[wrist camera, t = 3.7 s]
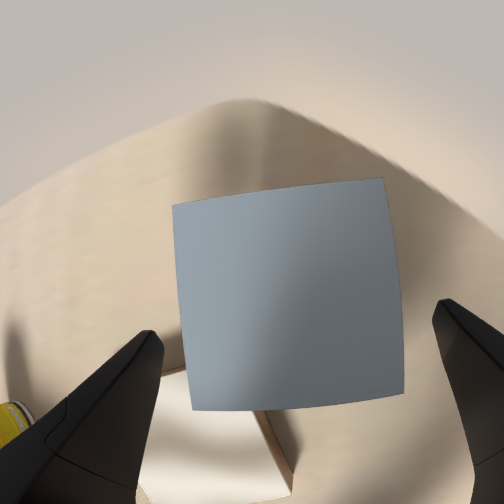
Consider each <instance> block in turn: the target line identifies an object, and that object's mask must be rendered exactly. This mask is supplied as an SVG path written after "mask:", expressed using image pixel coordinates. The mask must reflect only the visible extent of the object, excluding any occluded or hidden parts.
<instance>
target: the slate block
mask: <svg viewBox="0 0 504 504" xmlns="http://www.w3.org/2000/svg"><path fill="white" fill-rule="evenodd" d="M172 209H173V231H174V248H175V263H176V276H177V288H178V300H179V310H180V320H181V329H182V338H183V347H184V355H185V363H186V370H187V378H188V385H189V392H190V398H191V405H192V411H266V410H285V409H299V408H310V407H320V406H329V405H338V404H345V403H353V402H359V401H366V400H372V399H378V398H383V397H389V396H394V395H399V394H404V340H403V321H402V307H401V295H400V284H399V275H398V266H397V258H396V251H395V243H394V237H393V230H392V224H391V218H390V212H389V207H388V201H387V196H386V191H385V186H384V181H383V178H371V179H360V180H350V181H340V182H330V183H321V184H312V185H304V186H295V187H287V188H280V189H272V190H265V191H257V192H250V193H243V194H237V195H230V196H223V197H217V198H211V199H205V200H199V201H193V202H187V203H181V204H175V205H172Z"/></svg>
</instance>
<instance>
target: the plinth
mask: <svg viewBox="0 0 504 504" xmlns="http://www.w3.org/2000/svg"><path fill="white" fill-rule="evenodd" d="M138 482H139V483H140V485H141V487H142V488H143V490H144V492H145V493H146V495H147V496H148V498H149V499H150V501H151V503H152V504H250V503H256V502H261V501H267V500H272V499H276V498H281V497H286V496H290V495H291V493H292V484H293V473H292V471H291V469H290V467H289V464H288V462H287V460H286V458H285V456H284V454H283V452H282V449H281V447H280V445H279V443H278V441H277V438H276V436H275V434H274V432H273V429H272V427H271V425H270V423H269V420H268V418H267V416H266V413H265V411H192V405H191V398H190V392H189V385H188V378H187V370H186V365H185V366H181V367H178V368H175V369H172V370H168V371H165V372H162V373H161V381H160V387H159V392H158V396H157V400H156V404H155V408H154V412H153V417H152V421H151V425H150V429H149V434H148V438H147V443H146V447H145V452H144V456H143V461H142V465H141V470H140V475H139V480H138Z"/></svg>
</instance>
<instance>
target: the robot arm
mask: <svg viewBox="0 0 504 504" xmlns="http://www.w3.org/2000/svg"><path fill="white" fill-rule="evenodd" d="M432 323H433V328H434V331H435V335H436V339H437V342H438V346H439V350H440V354H441V358H442V362H443V365H444V368H445V371H446V373H447V376H448V379H449V382H450V385H451V388H452V391H453V394H454V397H455V400H456V403H457V407H458V410H459V413H460V416H461V420H462V423H463V427H464V430H465V434H466V438H467V442H468V446H469V450H470V454H471V458H472V462H473V466H474V472H475V482H474V488H473V493H472V498H471V502H470V504H504V335H503V334H502V333H501V332H499V331H498V330H496V329H495V328H493V327H492V326H491V325H489V324H488V323H486V322H485V321H483V320H482V319H480V318H479V317H477V316H476V315H474V314H473V313H472V312H470V311H469V310H467V309H466V308H464V307H463V306H461V305H460V304H458V303H456V302H455V301H453V300H452V299H450V298H447V299H442V300H439V301H438V303H437V306H436V308H435V311H434V314H433V318H432ZM163 358H164V345H163V343H162V342H161V340H160V339H159V337H158V336H157V334H156V333H155V331H153V330H143V331H141V332H140V333H139V334H137V335H136V336H135V337H134V338H133V339H132V340H131V341H129V342H128V343H127V344H126V345H125V346H124V347H123V348H121V349H120V350H119V351H118V352H117V353H116V354H115V355H113V356H112V357H111V358H110V359H109V360H108V361H107V362H105V363H104V364H103V365H102V366H101V367H100V368H99V369H97V370H96V371H95V372H94V373H93V374H92V375H91V376H89V377H88V378H87V379H86V380H85V381H84V382H83V383H82V384H80V385H79V386H78V387H77V388H76V389H75V390H74V391H73V392H71V393H70V394H69V395H68V397H65V398H64V399H63V400H62V401H61V402H60V403H59V404H57V405H56V406H55V407H54V408H53V409H51V410H50V411H49V412H48V413H47V414H45V415H44V416H43V417H42V418H40V419H39V420H38V421H36V422H35V423H34V424H32V425H31V426H30V427H28V428H27V429H26V430H24V431H23V432H22V433H20V434H19V435H18V436H16V437H15V438H14V439H12V440H11V441H10V442H8V443H7V444H6V445H4V446H3V447H2V448H0V504H136V499H135V497H136V490H137V485H138V480H139V475H140V470H141V465H142V461H143V456H144V452H145V447H146V443H147V438H148V434H149V429H150V425H151V421H152V417H153V412H154V408H155V404H156V400H157V396H158V392H159V387H160V381H161V373H162V365H163Z"/></svg>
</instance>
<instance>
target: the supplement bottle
mask: <svg viewBox="0 0 504 504" xmlns="http://www.w3.org/2000/svg"><path fill="white" fill-rule="evenodd" d="M34 423H35V422H34V420H33V418H32V416H31V414H30V413H29V411H28V410H27V409H26V407H25V406H24V405H23V404H21V403H20V402H18V401H10V402H7V403H4V404H0V448H2V447H3V446H4V445H6V444H7V443H8V442H10V441H11V440H12V439H14V438H15V437H16V436H18V435H19V434H20V433H22V432H23V431H24V430H26V429H27V428H28V427H30V426H31V425H32V424H34Z"/></svg>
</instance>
